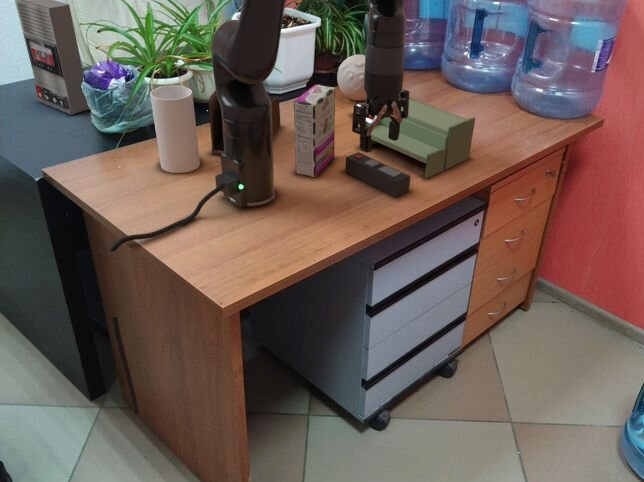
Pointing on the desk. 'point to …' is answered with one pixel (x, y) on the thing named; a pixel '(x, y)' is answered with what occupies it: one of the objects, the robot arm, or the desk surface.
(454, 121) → the step shelf
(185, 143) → the cup
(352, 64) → the decorative ball
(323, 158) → the candy bar box
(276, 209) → the desk surface
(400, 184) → the remote
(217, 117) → the letter holder
